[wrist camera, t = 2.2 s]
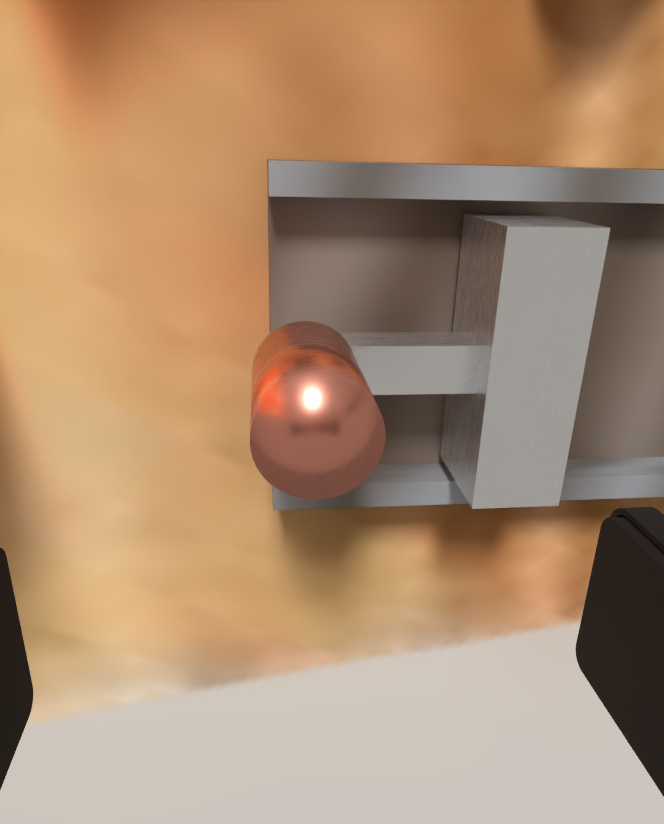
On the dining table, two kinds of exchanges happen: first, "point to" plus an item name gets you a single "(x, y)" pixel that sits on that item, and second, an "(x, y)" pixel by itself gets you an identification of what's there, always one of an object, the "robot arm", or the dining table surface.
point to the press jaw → (446, 372)
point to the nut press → (436, 293)
